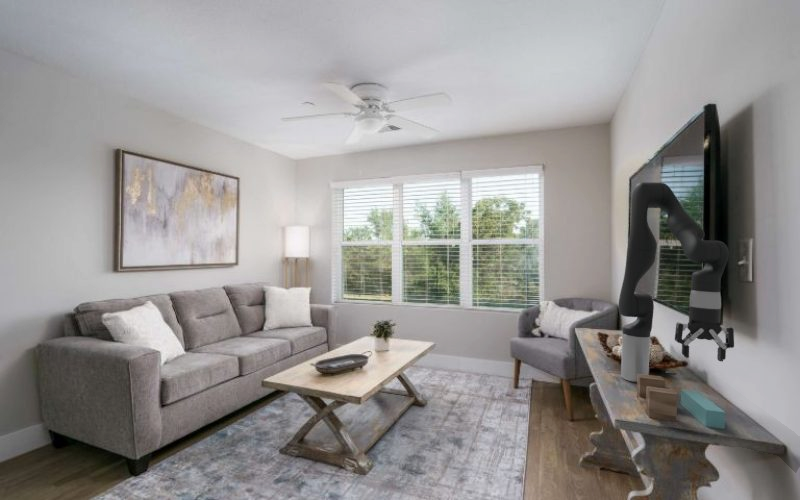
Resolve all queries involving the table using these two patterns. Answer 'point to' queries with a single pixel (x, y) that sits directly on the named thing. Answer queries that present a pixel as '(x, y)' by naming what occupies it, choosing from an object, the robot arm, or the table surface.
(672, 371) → the smartphone
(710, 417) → the glasses case
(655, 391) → the wooden block pair
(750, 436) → the table surface
